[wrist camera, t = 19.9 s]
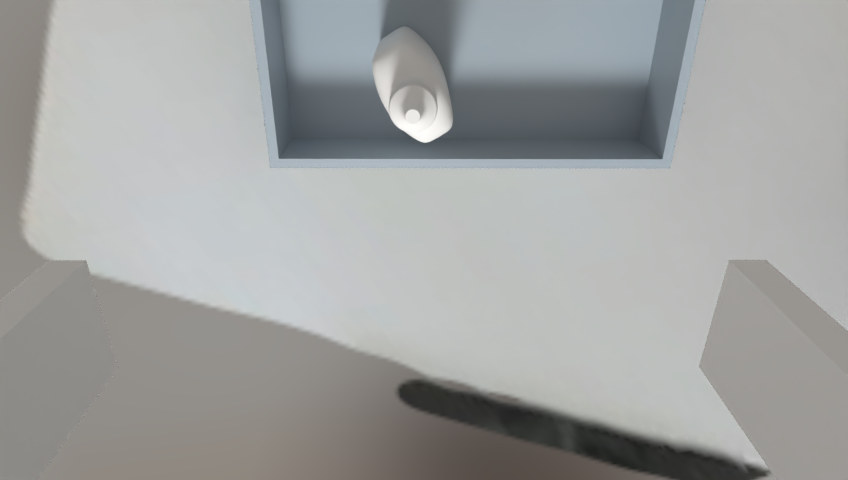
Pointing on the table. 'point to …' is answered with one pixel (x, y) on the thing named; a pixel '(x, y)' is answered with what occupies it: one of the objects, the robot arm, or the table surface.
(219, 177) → the table surface
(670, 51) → the tray
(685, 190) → the table surface
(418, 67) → the eye dropper bottle
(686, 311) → the table surface
